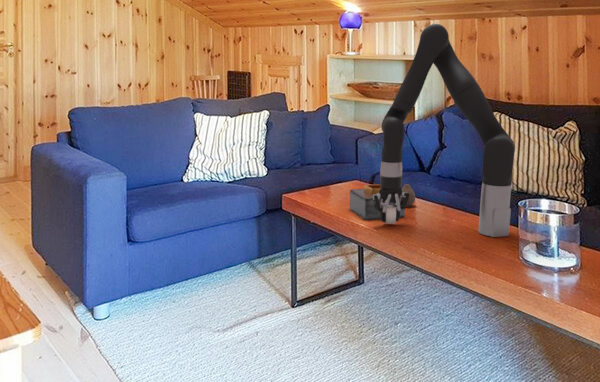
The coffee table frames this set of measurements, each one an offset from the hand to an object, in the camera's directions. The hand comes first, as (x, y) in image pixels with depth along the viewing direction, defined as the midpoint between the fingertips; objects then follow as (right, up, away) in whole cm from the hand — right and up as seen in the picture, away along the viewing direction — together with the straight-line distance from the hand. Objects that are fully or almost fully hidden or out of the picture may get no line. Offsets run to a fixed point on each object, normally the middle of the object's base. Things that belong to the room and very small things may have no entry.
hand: (389, 221), depth 190 cm
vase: (+11, +4, +27) cm, 29 cm away
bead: (0, 0, 0) cm, 0 cm away
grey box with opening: (-3, +3, +18) cm, 18 cm away
